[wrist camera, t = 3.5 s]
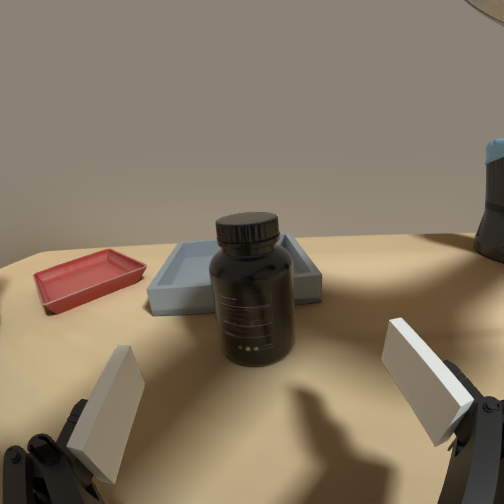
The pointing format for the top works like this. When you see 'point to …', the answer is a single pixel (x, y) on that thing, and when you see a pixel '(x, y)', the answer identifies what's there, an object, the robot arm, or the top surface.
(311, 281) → the tray
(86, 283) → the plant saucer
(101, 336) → the top surface
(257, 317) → the supplement bottle
